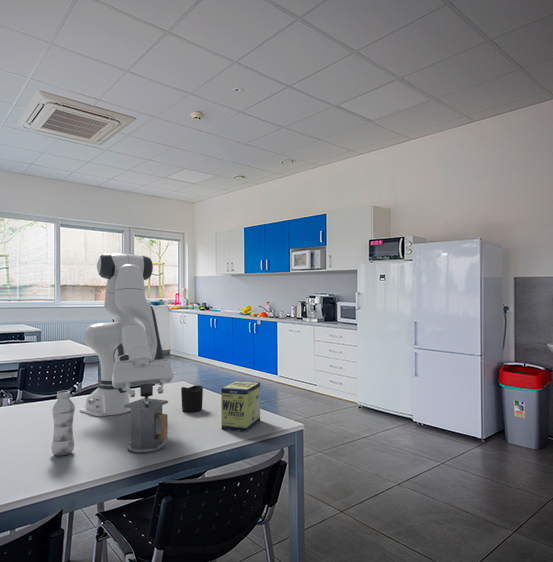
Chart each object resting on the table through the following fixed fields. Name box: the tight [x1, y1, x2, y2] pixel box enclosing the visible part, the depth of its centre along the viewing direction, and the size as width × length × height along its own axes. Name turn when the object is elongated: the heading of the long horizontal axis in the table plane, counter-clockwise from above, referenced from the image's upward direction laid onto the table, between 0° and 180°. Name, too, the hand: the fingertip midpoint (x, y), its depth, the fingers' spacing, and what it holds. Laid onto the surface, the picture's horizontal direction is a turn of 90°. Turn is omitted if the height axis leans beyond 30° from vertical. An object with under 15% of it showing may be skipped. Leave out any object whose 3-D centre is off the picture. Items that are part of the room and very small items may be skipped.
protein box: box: [220, 380, 261, 432], centre depth 168 cm, size 10×16×16 cm
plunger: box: [139, 384, 154, 404], centre depth 144 cm, size 8×8×18 cm
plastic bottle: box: [51, 390, 76, 457], centre depth 138 cm, size 6×7×20 cm
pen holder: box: [180, 384, 204, 414], centre depth 189 cm, size 9×9×10 cm
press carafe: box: [124, 397, 169, 455], centre depth 144 cm, size 14×12×15 cm
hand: (147, 394), depth 144 cm, fingers open, 8 cm apart
